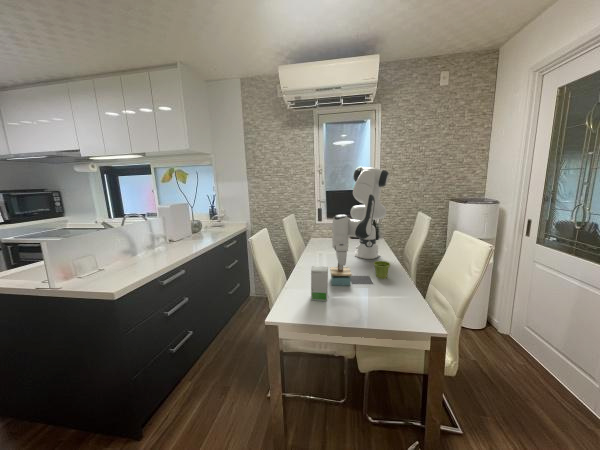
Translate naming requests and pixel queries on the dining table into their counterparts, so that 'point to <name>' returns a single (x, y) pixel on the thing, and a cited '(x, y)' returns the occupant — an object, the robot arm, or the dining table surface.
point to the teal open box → (340, 280)
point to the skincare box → (319, 283)
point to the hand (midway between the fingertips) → (340, 267)
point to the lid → (340, 271)
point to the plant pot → (381, 269)
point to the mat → (360, 280)
